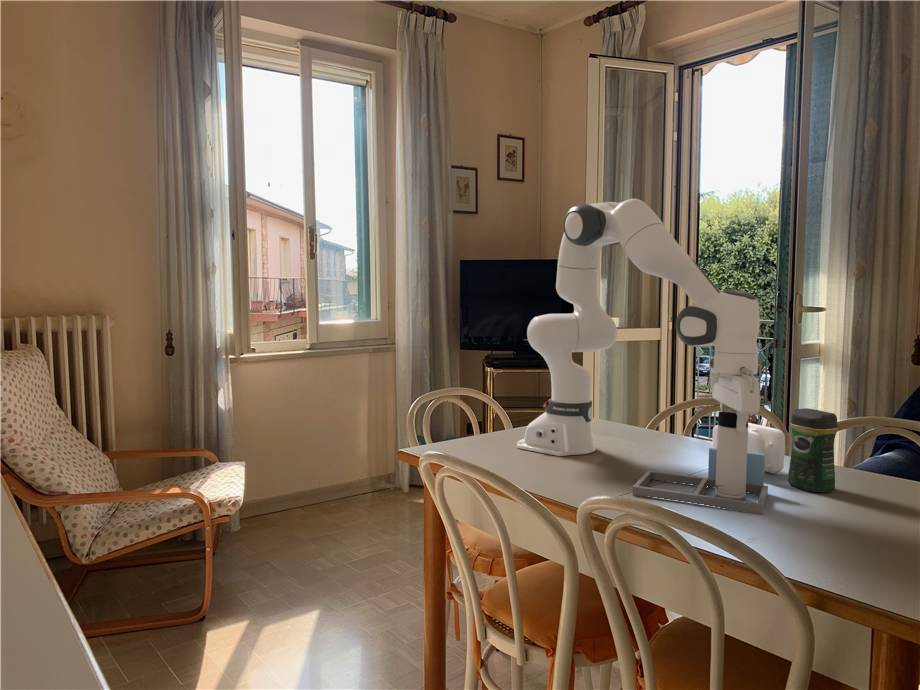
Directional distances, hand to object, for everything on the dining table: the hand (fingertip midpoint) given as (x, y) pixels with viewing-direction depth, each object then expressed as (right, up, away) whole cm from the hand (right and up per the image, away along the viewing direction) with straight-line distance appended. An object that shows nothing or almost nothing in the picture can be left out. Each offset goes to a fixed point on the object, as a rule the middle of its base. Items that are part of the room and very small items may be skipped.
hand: (733, 426), depth 152 cm
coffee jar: (+22, -16, +10) cm, 29 cm away
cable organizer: (+13, -14, +24) cm, 31 cm away
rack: (-6, -16, +5) cm, 18 cm away
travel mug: (0, -17, +2) cm, 17 cm away
